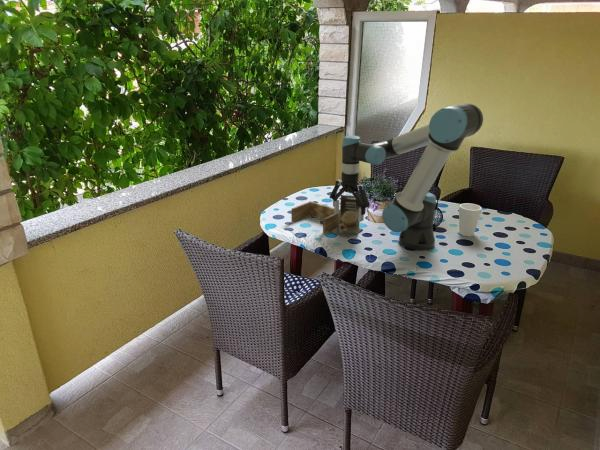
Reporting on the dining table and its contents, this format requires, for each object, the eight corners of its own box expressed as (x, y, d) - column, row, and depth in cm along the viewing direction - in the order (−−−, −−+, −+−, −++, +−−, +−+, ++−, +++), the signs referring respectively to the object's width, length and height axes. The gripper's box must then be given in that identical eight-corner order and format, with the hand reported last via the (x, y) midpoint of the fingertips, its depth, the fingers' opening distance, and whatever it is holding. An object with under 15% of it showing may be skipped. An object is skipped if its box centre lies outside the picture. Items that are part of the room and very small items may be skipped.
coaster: (362, 230, 210) (362, 229, 209) (347, 238, 201) (347, 236, 201) (345, 225, 216) (345, 223, 215) (329, 232, 207) (329, 230, 207)
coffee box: (338, 233, 205) (340, 199, 199) (338, 227, 211) (340, 194, 205) (359, 233, 204) (361, 200, 198) (358, 228, 210) (360, 195, 204)
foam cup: (478, 238, 203) (483, 211, 198) (456, 236, 205) (461, 209, 200) (475, 230, 211) (479, 204, 206) (454, 228, 213) (458, 202, 208)
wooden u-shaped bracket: (343, 224, 216) (343, 211, 213) (324, 233, 206) (325, 219, 203) (310, 214, 228) (310, 201, 226) (291, 222, 218) (291, 208, 216)
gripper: (379, 175, 192) (376, 221, 200) (332, 165, 207) (331, 208, 215) (369, 179, 187) (367, 226, 195) (322, 168, 202) (321, 213, 210)
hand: (348, 217), depth 205 cm, fingers open, 13 cm apart
